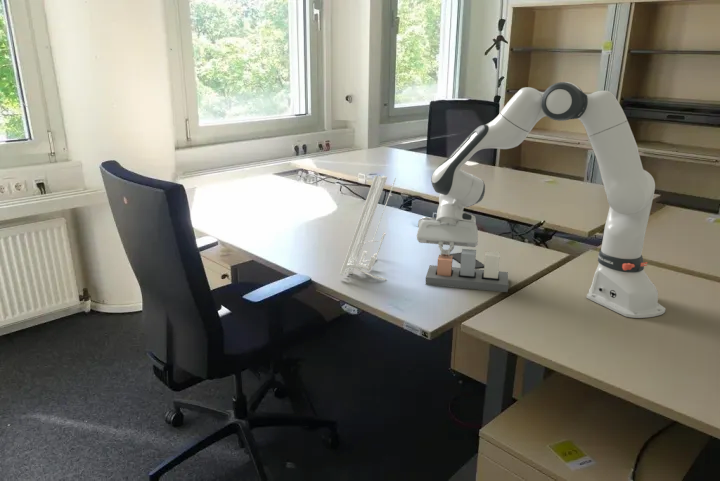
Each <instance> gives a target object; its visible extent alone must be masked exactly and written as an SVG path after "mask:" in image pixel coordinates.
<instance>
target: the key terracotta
mask: <svg viewBox="0 0 720 481" xmlns="http://www.w3.org/2000/svg"><path fill="white" fill-rule="evenodd" d="M453 260H454V259H453V256H450V257H448V256H441V254H438V257H437V265H436V266H437V275H442V276H452V267H453Z"/></svg>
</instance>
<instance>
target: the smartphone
mask: <svg viewBox="0 0 720 481" xmlns="http://www.w3.org/2000/svg"><path fill="white" fill-rule="evenodd" d="M461 253H462V251H461V252H455V253H454V252H453V253H450V256H453V260H454V261H455V262H457V263H459V264H460V265H461ZM484 266H485V263H482V262H481V261H479V260H478V259H476V260H475V269H484Z"/></svg>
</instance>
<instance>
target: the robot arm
mask: <svg viewBox="0 0 720 481" xmlns="http://www.w3.org/2000/svg"><path fill="white" fill-rule="evenodd" d="M544 117H545V118H546V117H548V119H551V120H552V121H553V120H554V121H561V122H565V121H569V120H575V119H577V120H579V121H580V123H581V124H582V125H583V127H584V130H585V131H586V132H585V133H586V135H587V137H588V140H589V143H590V146H591V148H592V150H593V153H594V155H595V158H596V162H597V164H598V168H599V173H600V177H601V181H602V184H603V188H604V192H605V195H606V197H607V199H606V200H607V202H608V205H609V209H608V213H607V217H606V221H605V223H604V228H603V229H604V230H603V237H602V242H601V248H600V249H599V251H598V255H597V256H598V257H597V262H598V265H597V267H596V269H595V272H594V275H593V278H592V282H591V285H590V288H589V289H588V293H587V294H586V299H588V300H590V301H592V302H595V303H597V304H598V305H601V306H602V307H604V308H607V309H609V310H611V311H613V312H615V313H617V314H620V315H622V316H624V317H626V318H635V319H642V318H643V319H644V318H645V319H646V318H653V317H658V316H661V315H663V314H664V313H666V307H664V306H663V305H661V303H659V302H658V300H659V293H658V292H659V291H658V289H657V288H656V285H655V283H653V282H652V280H651V279H650V277H649V276H648V274H647V273H646V271H645V267H647V266H648V262H646V261H645V262H644V259H643V258H644V257H643V255H642V252H643V248H644V242H645V236H646V231H647V228H648V227H647V226H648V224H649V222H648V221H649V218H650V214H651V209H652V204H653V201H654V200H653V199H654V196H655V195H654V194H655V190H656V182H655V179H654V177H653V176H652V174H651V173H650V172H648V171H647V170H646V169H644V167H643V164H642V160H641V156H640V153H639V147H638V144H637V142H636V139H635V137H634V133H633V131H632V129H631V126H630V123H629V121H628V119H627V116H626V114H625V112H624V110H623V108H622V106H621V104H620V102H619V101H618V99H617V98H616V96H615V95H614V94H613V93H612V92H611V91H609V90H598V91H594V92H592V93H585V92H583V90H582V89H581V88H580V87H579V86H578V85H576V84H574V83H573V82H568V81H560V82H555V83H553V84H551V85H549V86H548V87H547V88H546V89H545V90H544V91H539V90H538V89H536V88H535V87H530V86H528V87H526V86H525V87H521V88H520V89H519V90H518V91H517V92H515V94H513V96H512V97H511V98H510V99H509V101H507V103H506V104H505V105H504V107H503V108H502V109H501V110H500V112H499V114H498V115H497V116H496V117H495V118H494V119H493V120H491V121H490V122H488V123H486V124H481V125H479V126H477V127H476V128H475V129H474V130H473V131H472V132H471V133H470V134H469V135H468V136H467V137H466V138H465V139H464V141H462V143H460V145H458V147H457V148H456V149H455V150H454V151H453V152H452V153H451V155H449V156H448V157H447V159H445V160H444V161H443V162H442V163H441V164H440V165H438V166H437V167H436V168H435V170H434V171H433V173H432V175H431V177H430V181H431V185H432V188H433V190H434V192H435V193H437V194H439V197H438V203H439V204H438V207H437V212H436V217H426V216H424V217H422V218H420V219H418V222H417V228H418V229H417V233H416V240H417V242H418V243H419V244H432V245H438V248H439V251H440V255H441V256H448V257H450V254H451V253H452V252H453V250H454V248H455V246H457V247H458V246H459V247H469V248H476V247H477V246H478V244H479V230H478V225H477V224H476V223H477V222H476V216H475V215H473V214H472V213H468V212H466V211H464V208H469V207H471V206H474V205H476V204H478V203H480V202H482V200H483V198H484V196H485V192H486V185H485V181H484V180H483V179H482V178H480V177H478V176H477V175H475V174H472V173H469V172H467V171H466V170H463V169H462V167H463V166H464V165H465V164H467V162H468V161H469V160H470V159H471V158H472V157H473V155H475V154H476V153H477V152H479V151H481V150H484V149H499V150H509V149H513V148H517V147H518V146H519V145H521V144H522V143H523V142H524V141H525V139H527V136H528V135H529V134H530V133H531V131H532V130H533V128H534V127H535V126H536V124H537V123H538V122H539V121H540V120H542V119H543V118H544ZM444 246H449V248H448V249H444Z"/></svg>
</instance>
